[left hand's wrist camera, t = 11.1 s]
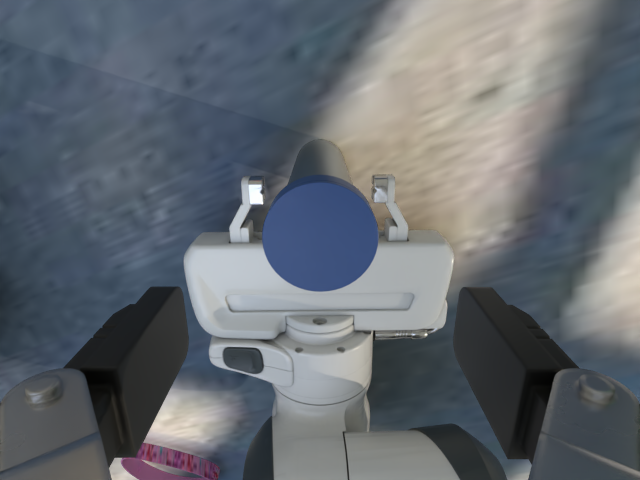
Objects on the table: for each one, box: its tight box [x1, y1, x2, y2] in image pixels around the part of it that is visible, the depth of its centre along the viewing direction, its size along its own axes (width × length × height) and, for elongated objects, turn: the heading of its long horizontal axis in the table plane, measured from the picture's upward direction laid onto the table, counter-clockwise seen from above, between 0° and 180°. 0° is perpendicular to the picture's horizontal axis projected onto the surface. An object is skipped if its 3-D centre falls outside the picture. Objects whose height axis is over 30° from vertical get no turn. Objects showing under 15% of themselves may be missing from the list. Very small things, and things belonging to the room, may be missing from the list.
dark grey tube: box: [288, 140, 353, 185], centre depth 27 cm, size 4×4×19 cm
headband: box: [121, 443, 220, 480], centre depth 46 cm, size 11×4×2 cm, turn 69°
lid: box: [262, 175, 379, 292], centre depth 18 cm, size 5×5×2 cm
